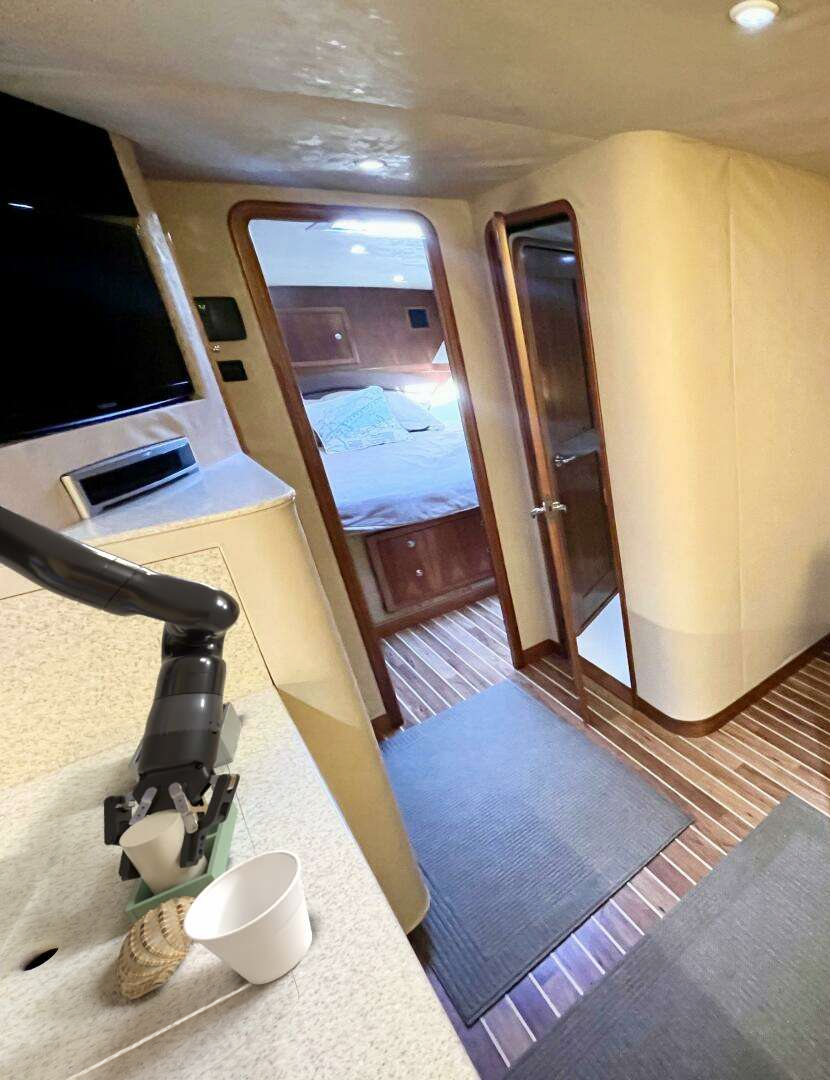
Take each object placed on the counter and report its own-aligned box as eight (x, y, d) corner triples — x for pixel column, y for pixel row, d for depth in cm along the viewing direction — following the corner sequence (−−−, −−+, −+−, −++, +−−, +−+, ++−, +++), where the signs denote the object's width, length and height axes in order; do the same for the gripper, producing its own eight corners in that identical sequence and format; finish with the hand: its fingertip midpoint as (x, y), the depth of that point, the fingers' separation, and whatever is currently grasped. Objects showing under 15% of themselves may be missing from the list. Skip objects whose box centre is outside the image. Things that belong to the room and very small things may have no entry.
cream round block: (150, 911, 66) (112, 855, 62) (161, 877, 70) (126, 823, 67) (207, 886, 69) (174, 831, 65) (214, 855, 73) (183, 801, 69)
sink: (143, 793, 85) (127, 766, 83) (161, 751, 94) (147, 727, 92) (233, 761, 91) (220, 735, 89) (242, 725, 100) (230, 701, 98)
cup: (229, 949, 62) (189, 885, 58) (329, 895, 68) (300, 834, 64) (220, 1030, 55) (174, 963, 51) (334, 962, 60) (301, 898, 56)
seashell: (227, 960, 64) (198, 891, 68) (213, 945, 60) (184, 873, 64) (137, 1021, 58) (111, 943, 62) (115, 1009, 55) (89, 926, 59)
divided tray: (137, 931, 65) (124, 912, 64) (168, 840, 77) (157, 822, 76) (222, 892, 69) (211, 874, 68) (239, 812, 81) (230, 795, 80)
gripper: (94, 742, 68) (60, 894, 62) (225, 719, 71) (206, 862, 65) (143, 745, 75) (117, 883, 68) (261, 724, 78) (246, 854, 71)
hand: (160, 872), depth 67 cm, fingers closed on cream round block, 5 cm apart
